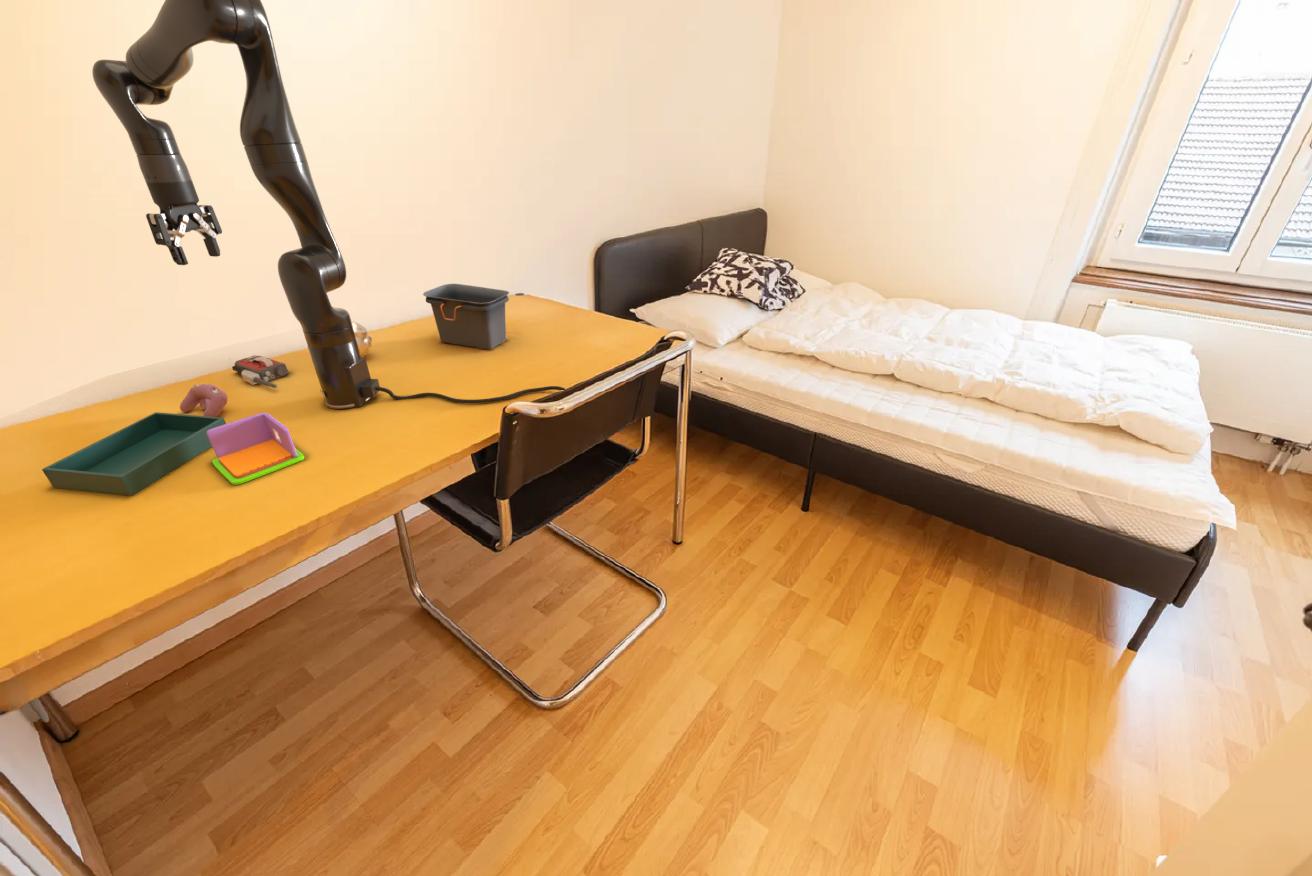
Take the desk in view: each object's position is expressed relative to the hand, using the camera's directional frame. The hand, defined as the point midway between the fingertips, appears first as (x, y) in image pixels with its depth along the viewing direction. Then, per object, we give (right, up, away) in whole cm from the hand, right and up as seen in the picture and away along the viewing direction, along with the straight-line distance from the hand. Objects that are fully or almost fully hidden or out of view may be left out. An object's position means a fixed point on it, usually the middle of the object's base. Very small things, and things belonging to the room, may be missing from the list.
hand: (199, 260), depth 122 cm
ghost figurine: (+21, -18, +26) cm, 37 cm away
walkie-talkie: (+5, -24, +14) cm, 29 cm away
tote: (+5, -43, -18) cm, 47 cm away
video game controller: (+3, -33, -1) cm, 34 cm away
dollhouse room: (+26, -43, -18) cm, 53 cm away
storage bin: (+48, -12, +36) cm, 61 cm away
